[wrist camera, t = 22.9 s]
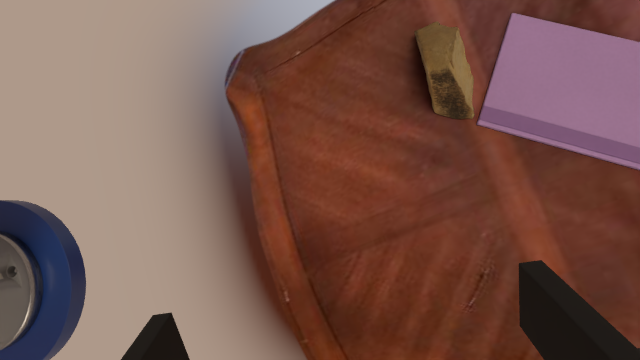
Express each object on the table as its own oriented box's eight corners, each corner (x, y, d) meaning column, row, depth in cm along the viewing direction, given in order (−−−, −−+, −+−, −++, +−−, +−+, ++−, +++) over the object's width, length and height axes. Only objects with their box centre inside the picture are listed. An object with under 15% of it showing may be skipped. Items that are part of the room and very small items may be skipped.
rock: (393, 11, 38) (376, 94, 36) (461, -34, 30) (443, 68, 29) (456, 55, 43) (444, 130, 41) (527, 27, 36) (515, 116, 34)
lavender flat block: (476, 124, 38) (478, 123, 37) (510, 15, 38) (513, 11, 38) (649, 173, 36) (655, 172, 35) (685, 55, 36) (690, 53, 35)
